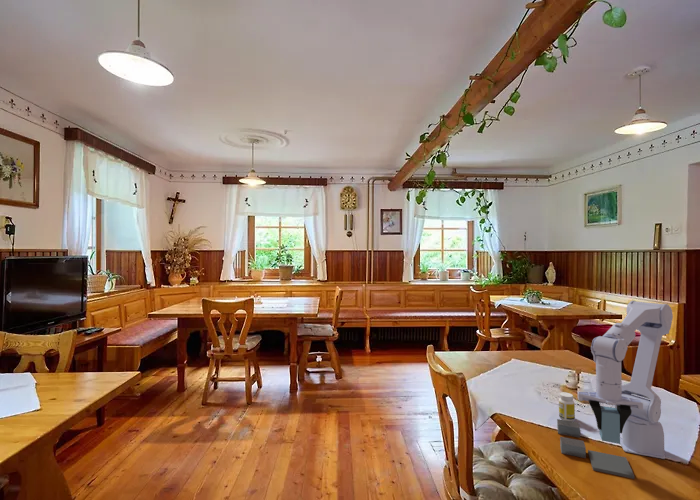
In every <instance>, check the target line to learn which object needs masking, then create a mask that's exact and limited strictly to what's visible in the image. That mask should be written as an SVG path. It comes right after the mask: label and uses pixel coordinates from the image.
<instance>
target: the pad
mask: <svg viewBox="0 0 700 500" xmlns="http://www.w3.org/2000/svg"><path fill="white" fill-rule="evenodd" d="M587 453H588V457H589V460H590V464H591V469H592V471H596V472H600V473H604V474H609V475H615V476H617V477H622V478H628V479H632V480H635V474H634V472H633V469H632V468H631V467H632V466H631V465H630V464H629V460H628V458H627V457H625V456H620V455H616V454H611V453H605V452H601V451H596V450H591V449H587Z"/></svg>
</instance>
